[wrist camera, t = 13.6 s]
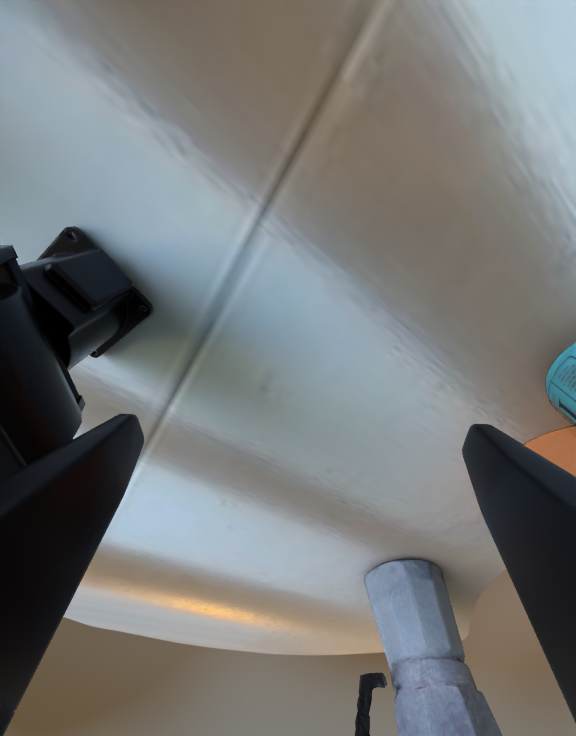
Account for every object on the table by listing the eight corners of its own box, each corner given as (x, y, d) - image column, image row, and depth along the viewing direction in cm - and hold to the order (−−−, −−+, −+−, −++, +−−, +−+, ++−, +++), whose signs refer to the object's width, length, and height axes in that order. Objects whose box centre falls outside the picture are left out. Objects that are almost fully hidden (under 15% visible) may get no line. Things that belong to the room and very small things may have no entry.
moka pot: (449, 603, 38) (564, 945, 21) (326, 589, 38) (340, 918, 21) (481, 562, 33) (664, 962, 16) (340, 546, 33) (373, 927, 16)
